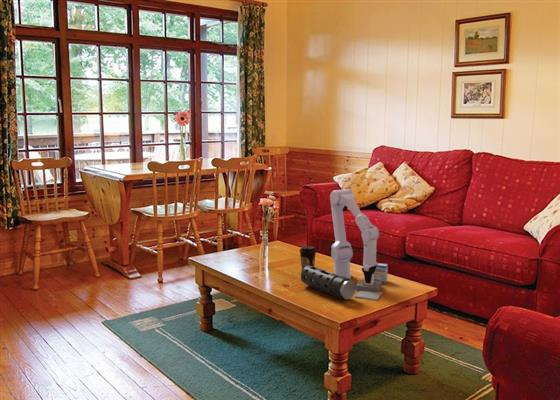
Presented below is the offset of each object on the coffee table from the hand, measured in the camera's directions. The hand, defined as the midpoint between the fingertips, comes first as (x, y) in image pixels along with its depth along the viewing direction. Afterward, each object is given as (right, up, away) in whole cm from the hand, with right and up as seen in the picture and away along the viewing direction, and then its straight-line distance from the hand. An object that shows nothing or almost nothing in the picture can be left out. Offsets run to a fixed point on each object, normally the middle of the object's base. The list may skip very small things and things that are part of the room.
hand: (369, 281), depth 253 cm
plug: (0, -3, +1) cm, 3 cm away
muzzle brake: (-20, -5, -6) cm, 21 cm away
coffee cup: (-27, +1, +27) cm, 38 cm away
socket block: (0, -3, +1) cm, 3 cm away
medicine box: (+7, -2, +12) cm, 14 cm away
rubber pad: (-1, -5, -8) cm, 10 cm away
